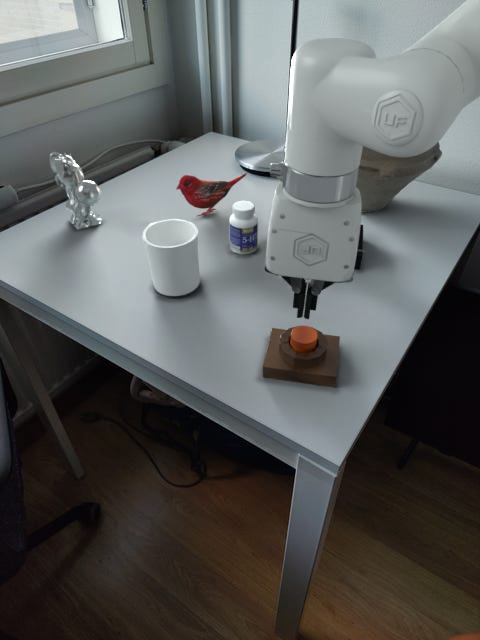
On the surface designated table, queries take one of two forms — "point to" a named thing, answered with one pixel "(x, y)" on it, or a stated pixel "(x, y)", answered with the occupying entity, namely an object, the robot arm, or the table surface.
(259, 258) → the table surface
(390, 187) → the planter
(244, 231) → the pill bottle
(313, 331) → the button
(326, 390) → the table surface
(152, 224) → the mug
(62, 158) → the chrome statue
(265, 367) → the button block
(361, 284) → the table surface
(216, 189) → the decorative bird figurine
